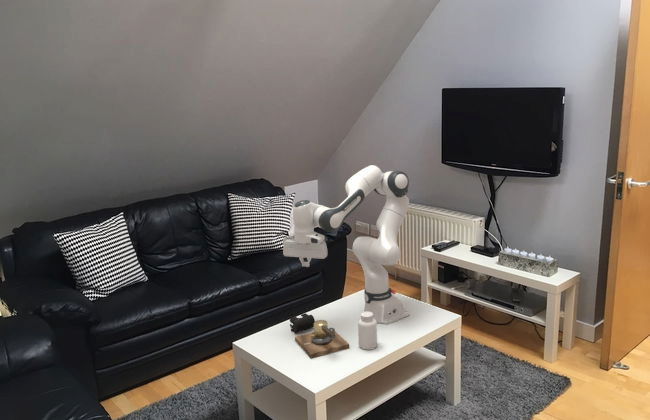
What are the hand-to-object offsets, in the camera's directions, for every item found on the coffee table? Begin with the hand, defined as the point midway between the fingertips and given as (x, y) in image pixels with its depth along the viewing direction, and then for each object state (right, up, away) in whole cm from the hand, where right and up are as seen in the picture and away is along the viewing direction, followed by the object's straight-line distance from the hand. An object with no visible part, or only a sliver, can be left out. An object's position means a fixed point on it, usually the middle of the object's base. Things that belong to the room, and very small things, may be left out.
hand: (305, 266), depth 254 cm
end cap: (-2, -31, +8) cm, 32 cm away
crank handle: (+9, -30, -12) cm, 34 cm away
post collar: (+7, -32, -7) cm, 33 cm away
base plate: (+7, -34, -7) cm, 35 cm away
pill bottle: (+27, -34, -10) cm, 44 cm away
